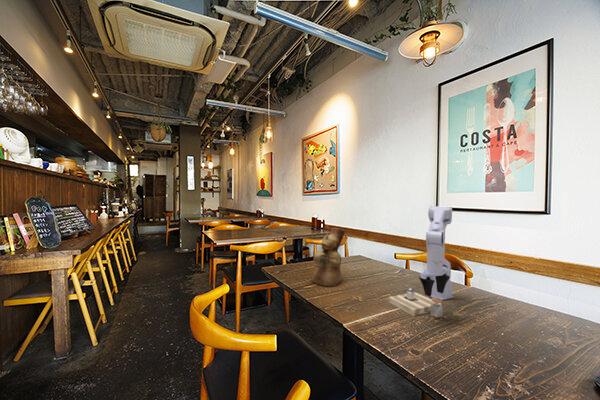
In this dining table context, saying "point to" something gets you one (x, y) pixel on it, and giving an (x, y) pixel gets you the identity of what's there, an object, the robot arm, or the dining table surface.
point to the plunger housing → (436, 310)
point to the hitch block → (412, 304)
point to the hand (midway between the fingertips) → (434, 294)
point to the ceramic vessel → (329, 259)
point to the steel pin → (410, 294)
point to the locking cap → (436, 301)
